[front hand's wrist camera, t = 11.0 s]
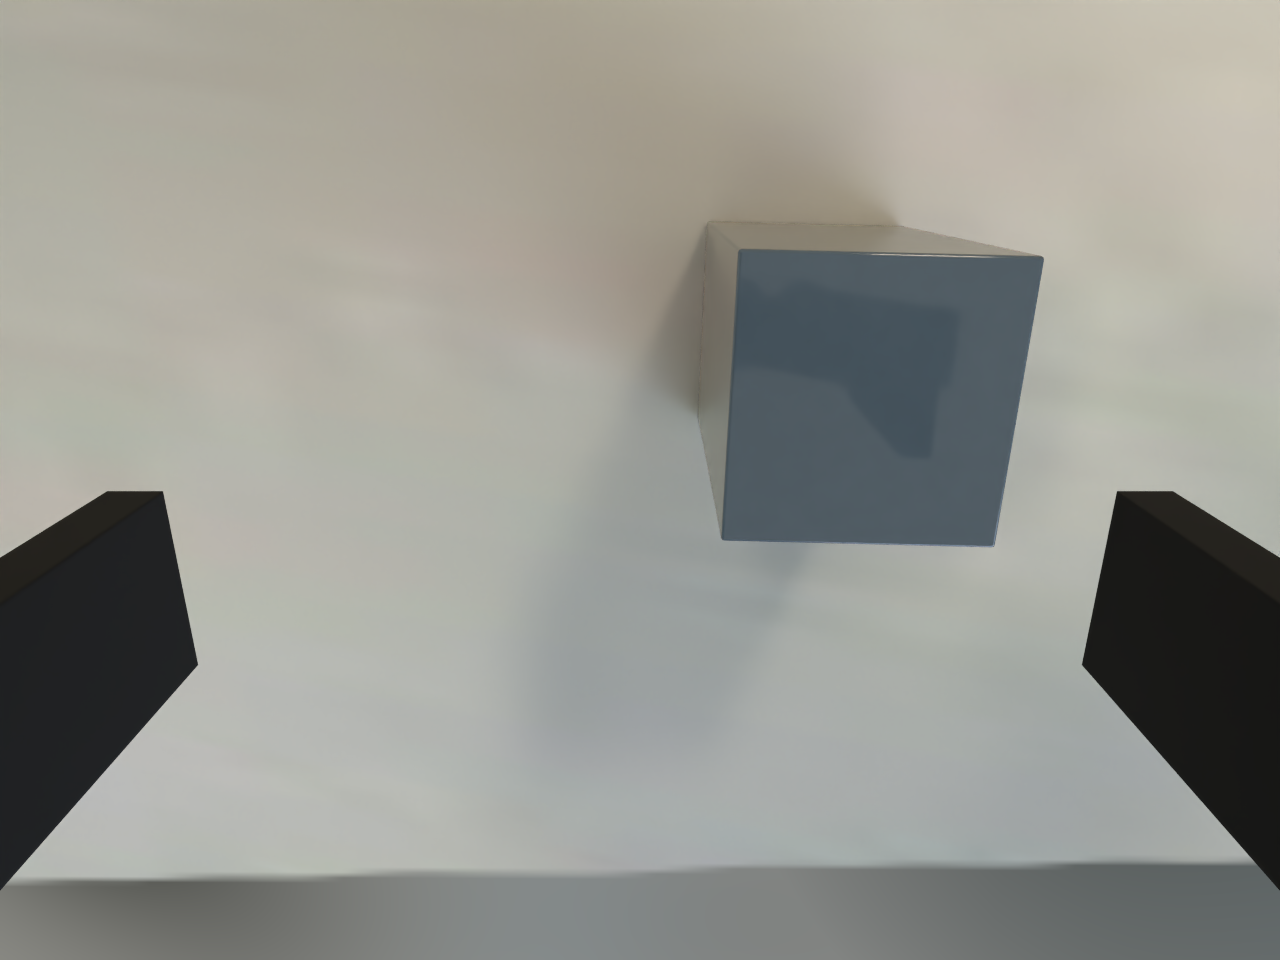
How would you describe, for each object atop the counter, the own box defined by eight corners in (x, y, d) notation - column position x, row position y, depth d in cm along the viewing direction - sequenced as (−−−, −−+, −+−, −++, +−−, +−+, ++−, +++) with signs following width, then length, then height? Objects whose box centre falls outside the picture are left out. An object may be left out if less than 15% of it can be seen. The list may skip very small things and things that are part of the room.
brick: (706, 220, 24) (738, 248, 15) (903, 226, 24) (1045, 256, 15) (697, 418, 26) (721, 541, 17) (880, 423, 26) (995, 548, 17)
